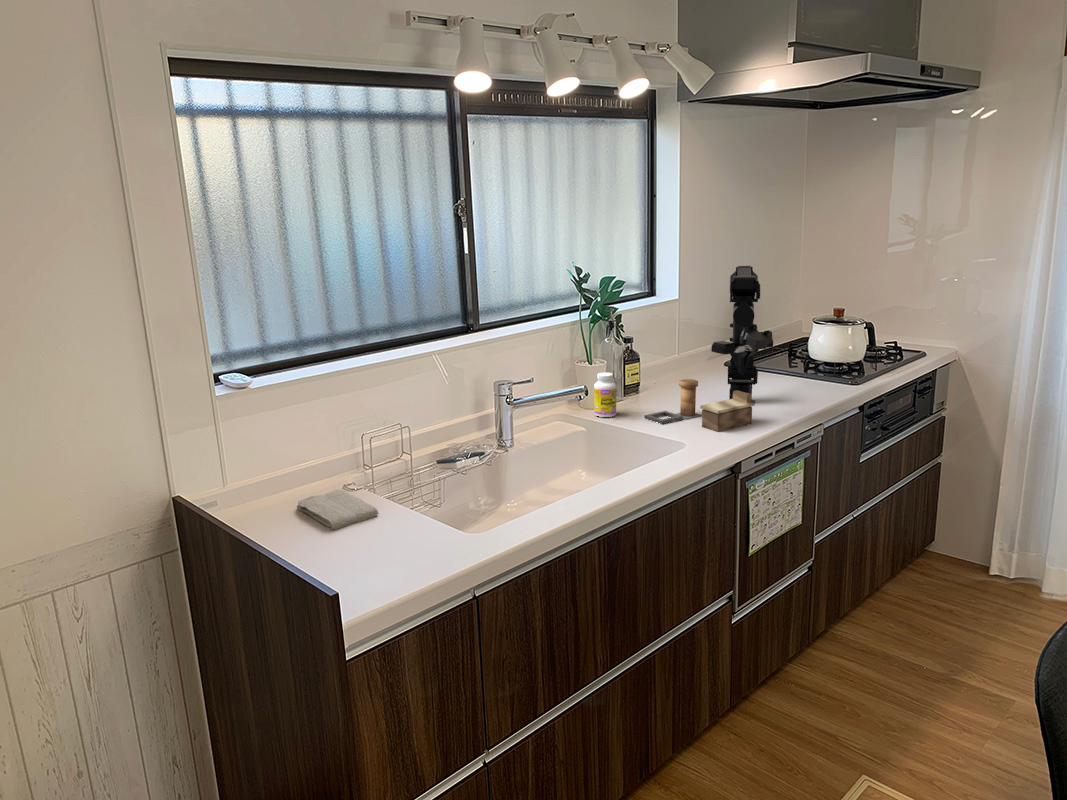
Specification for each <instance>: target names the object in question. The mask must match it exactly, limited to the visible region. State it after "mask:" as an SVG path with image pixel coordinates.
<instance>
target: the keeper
mask: <svg viewBox="0 0 1067 800" xmlns="http://www.w3.org/2000/svg"><path fill="white" fill-rule="evenodd" d="M660 416H661V417H667V416H668V417H667V418H661V417H660ZM643 417H644V418H645V419H644V420H647V419H648V420H647V421H650V420H652V421H651V422H653V421H655V422H654V423H656V422H658V423H657V424H659V423H660V424H659V425H664V423H666V424H668V423H669V422H670V423H674V421H675V422H679V421H682V420H684V419H683V416H680V415H677V413H673V412H671V411H667V410H664V411H663V410H662V411H658V412H653V413H649V414H644V416H643ZM670 417H671V418H670ZM678 420H679V421H678ZM670 423H669V424H670Z"/></svg>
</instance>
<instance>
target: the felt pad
mask: <svg viewBox="0 0 1067 800" xmlns="http://www.w3.org/2000/svg"><path fill="white" fill-rule="evenodd" d="M676 414H677V415H680V412H677V413H676ZM680 416H681V415H680ZM699 417H702V414H700V413H697V412H695V416H691V417H686V416H683V420H690V418H691V419H695V418H699Z"/></svg>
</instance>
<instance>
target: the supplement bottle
mask: <svg viewBox="0 0 1067 800" xmlns="http://www.w3.org/2000/svg"><path fill="white" fill-rule="evenodd" d="M596 377H597V381H596V382H595V383H594V384H593V390H594V391H593V398H594V399H593V403H594V404H593V407H594V412H593V413H594V415H596V417H597V416H599V417H598V418H601V417H609V418H613V417H615V416H616V415H617V384H616V383H615V381H613V379H614V375H613V372H606V371H605V372H598V373H597V375H596ZM612 416H613V417H612Z"/></svg>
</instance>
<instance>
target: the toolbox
mask: <svg viewBox="0 0 1067 800" xmlns="http://www.w3.org/2000/svg"><path fill="white" fill-rule="evenodd" d="M701 415H702V416H701V427H702V428H705V429H708V430H710V431H713V432H716V433H718V432H723V431H727V430H733V429H735V428H739V427H744V426H748V424H749V425H751V424H753V406H750V407H746V408H741V409H737V410H732V411H728V412H723V413H719V414H717V413H714V412H710V411H707V410H704V409H701Z"/></svg>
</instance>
